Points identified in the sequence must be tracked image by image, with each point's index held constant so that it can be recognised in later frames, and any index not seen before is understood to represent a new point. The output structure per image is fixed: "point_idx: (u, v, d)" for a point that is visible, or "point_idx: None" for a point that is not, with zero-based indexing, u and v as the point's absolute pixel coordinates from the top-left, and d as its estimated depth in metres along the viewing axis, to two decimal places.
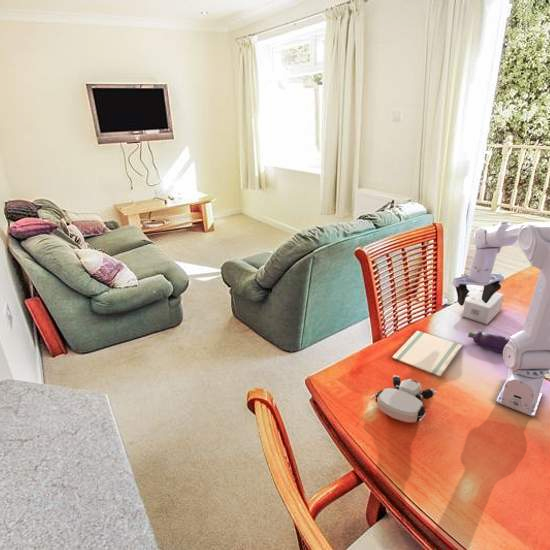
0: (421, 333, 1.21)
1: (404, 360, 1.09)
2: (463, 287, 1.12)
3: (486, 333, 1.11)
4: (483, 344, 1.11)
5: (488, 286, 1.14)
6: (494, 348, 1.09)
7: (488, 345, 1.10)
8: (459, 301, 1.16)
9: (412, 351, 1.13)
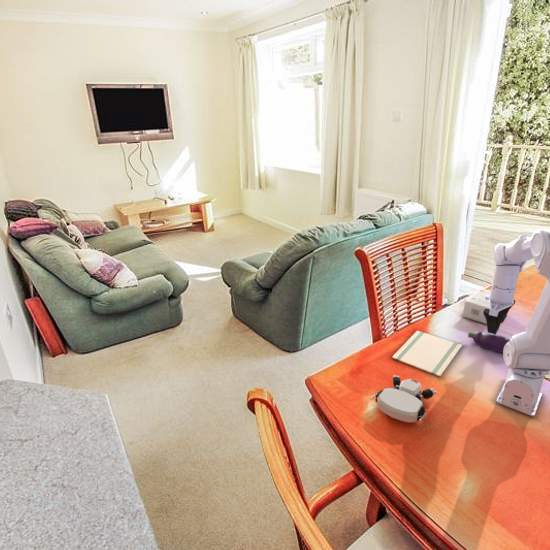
0: (421, 333, 1.21)
1: (404, 360, 1.09)
2: (499, 314, 1.02)
3: (486, 333, 1.11)
4: (483, 344, 1.11)
5: None
6: (494, 348, 1.09)
7: (488, 345, 1.10)
8: (491, 330, 1.06)
9: (412, 351, 1.13)
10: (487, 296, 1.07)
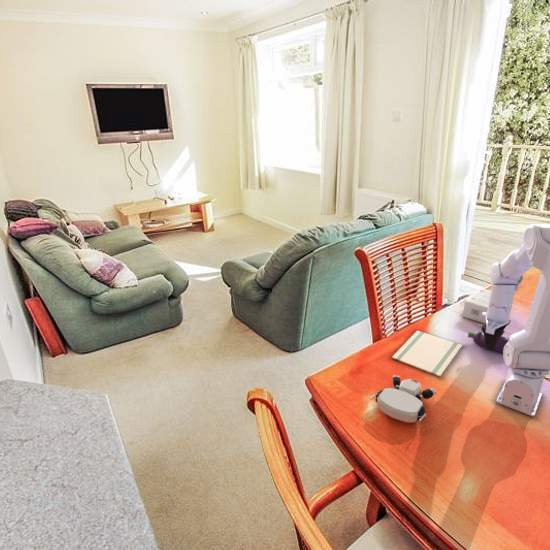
0: (421, 333, 1.21)
1: (404, 360, 1.09)
2: (497, 330, 1.06)
3: None
4: (483, 344, 1.11)
5: None
6: (494, 348, 1.09)
7: None
8: (489, 345, 1.09)
9: (412, 351, 1.13)
10: (484, 313, 1.10)
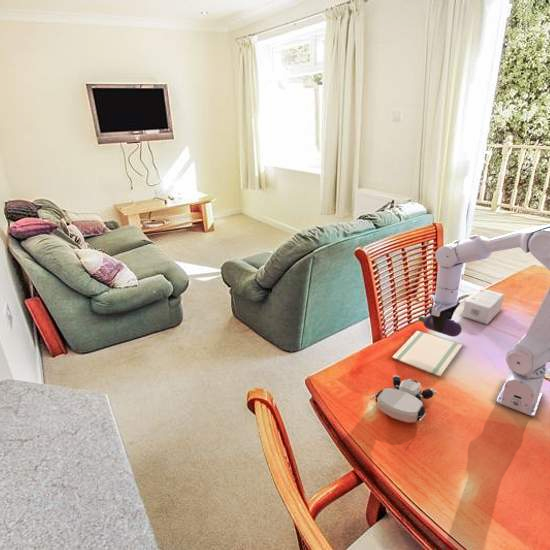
0: (421, 333, 1.21)
1: (404, 360, 1.09)
2: (444, 312, 1.03)
3: None
4: (432, 328, 1.09)
5: None
6: (442, 332, 1.07)
7: None
8: (438, 329, 1.07)
9: (412, 351, 1.13)
10: (432, 296, 1.07)
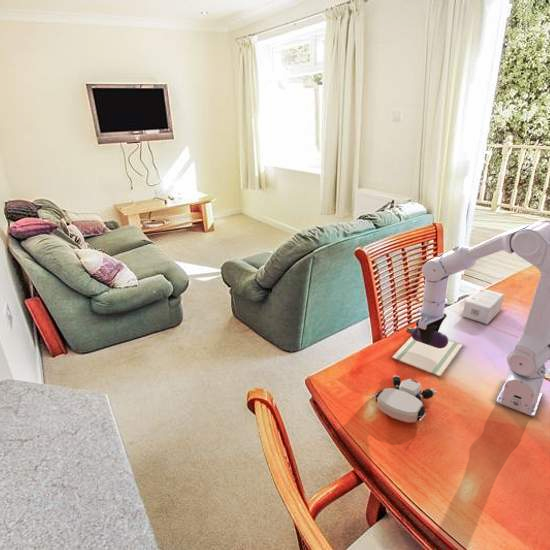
0: None
1: (404, 360, 1.09)
2: (430, 325, 1.05)
3: None
4: (419, 339, 1.10)
5: None
6: (429, 344, 1.08)
7: None
8: (425, 341, 1.08)
9: (412, 351, 1.13)
10: (420, 308, 1.09)
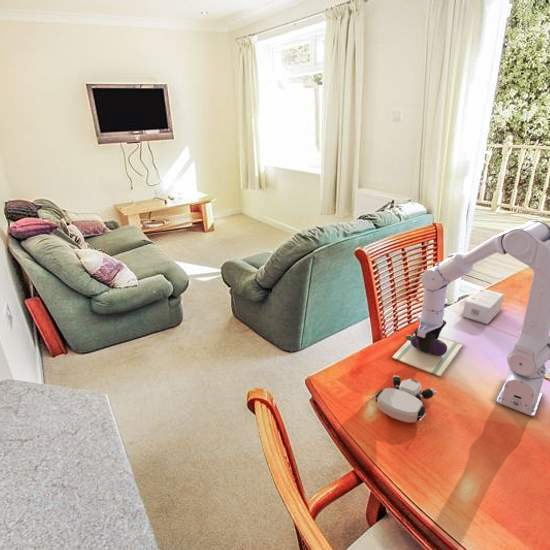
0: None
1: (404, 360, 1.09)
2: (428, 334, 1.05)
3: None
4: (419, 347, 1.11)
5: None
6: (429, 351, 1.10)
7: None
8: (423, 349, 1.09)
9: (412, 351, 1.13)
10: (419, 316, 1.10)
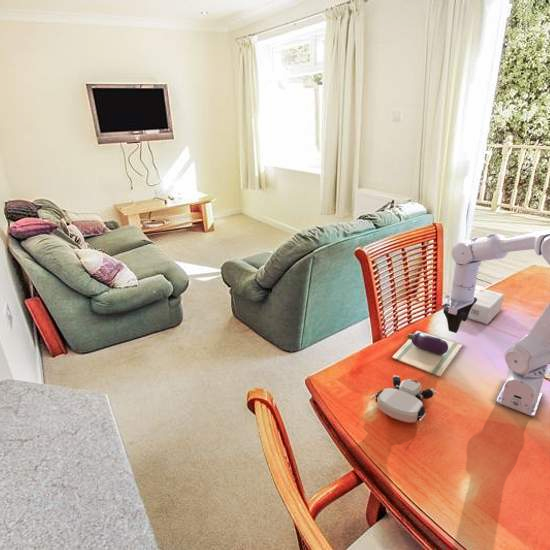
0: None
1: (404, 360, 1.09)
2: (459, 312, 1.01)
3: (424, 334, 1.13)
4: (420, 343, 1.11)
5: None
6: (430, 348, 1.10)
7: (425, 345, 1.11)
8: (452, 329, 1.04)
9: (412, 351, 1.13)
10: (448, 294, 1.06)
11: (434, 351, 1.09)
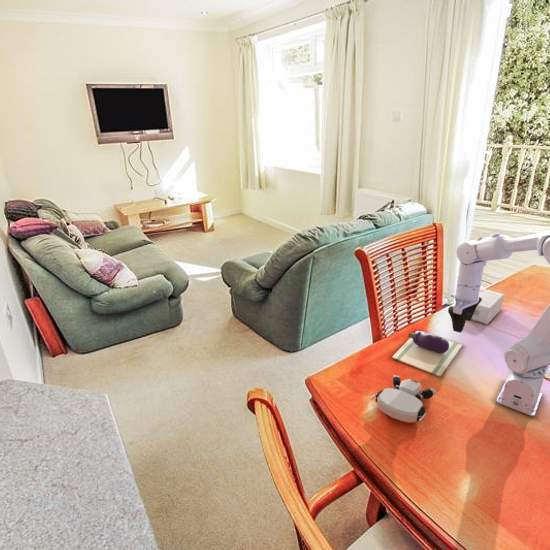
0: None
1: (404, 360, 1.09)
2: (464, 312, 1.01)
3: None
4: (422, 340, 1.12)
5: None
6: (431, 344, 1.10)
7: (426, 341, 1.11)
8: (457, 329, 1.04)
9: (412, 351, 1.13)
10: (453, 294, 1.06)
11: (435, 348, 1.09)
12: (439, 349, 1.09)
